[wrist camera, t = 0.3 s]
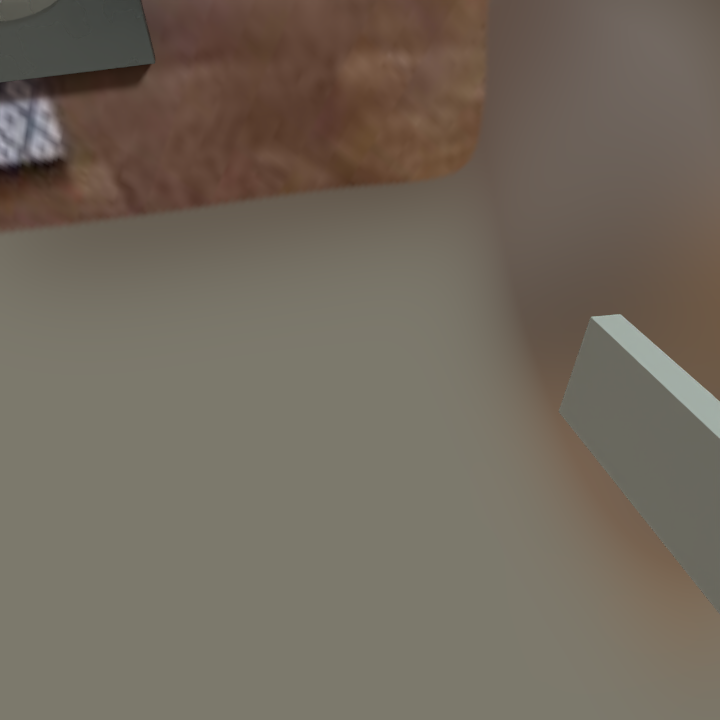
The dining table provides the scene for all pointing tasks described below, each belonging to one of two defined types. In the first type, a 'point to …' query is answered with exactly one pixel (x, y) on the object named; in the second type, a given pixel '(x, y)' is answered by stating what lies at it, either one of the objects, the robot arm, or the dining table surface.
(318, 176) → the dining table surface
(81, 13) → the press
